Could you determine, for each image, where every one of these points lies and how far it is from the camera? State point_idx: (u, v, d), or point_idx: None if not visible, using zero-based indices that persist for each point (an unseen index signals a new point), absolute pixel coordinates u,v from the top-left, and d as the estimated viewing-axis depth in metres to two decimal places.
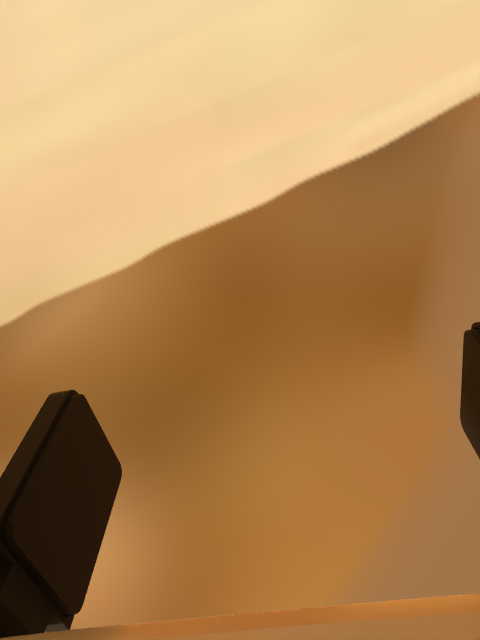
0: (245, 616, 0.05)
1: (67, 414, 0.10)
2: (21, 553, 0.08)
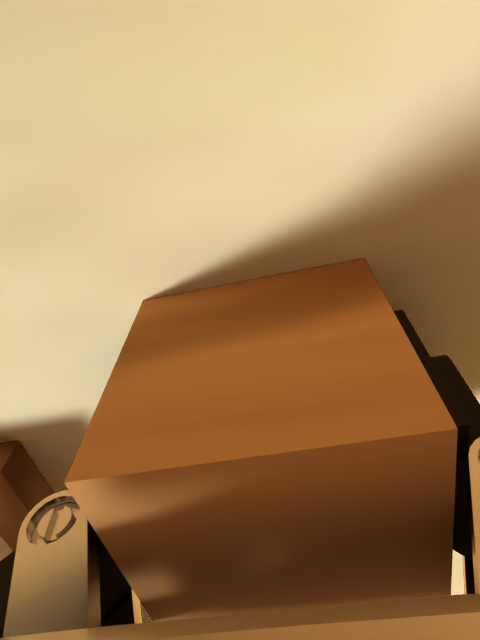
0: (245, 616, 0.05)
1: None
2: None
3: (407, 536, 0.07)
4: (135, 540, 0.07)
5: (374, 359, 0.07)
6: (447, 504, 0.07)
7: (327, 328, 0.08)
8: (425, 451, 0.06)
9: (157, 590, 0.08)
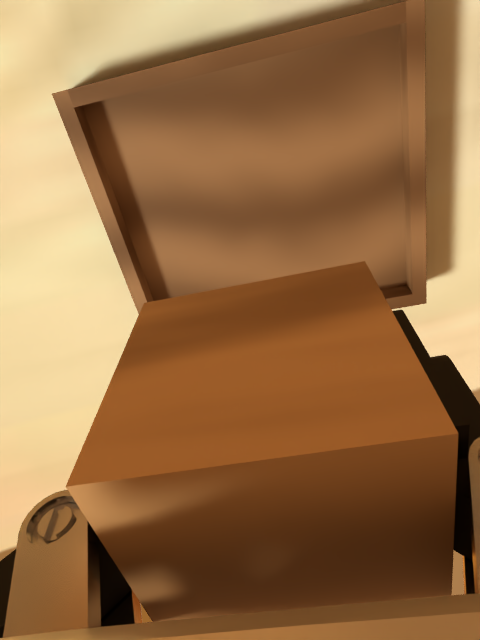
0: (245, 616, 0.05)
1: None
2: None
3: (407, 540, 0.07)
4: (136, 543, 0.07)
5: (375, 363, 0.07)
6: (448, 508, 0.07)
7: (328, 331, 0.08)
8: (426, 455, 0.06)
9: (158, 593, 0.08)
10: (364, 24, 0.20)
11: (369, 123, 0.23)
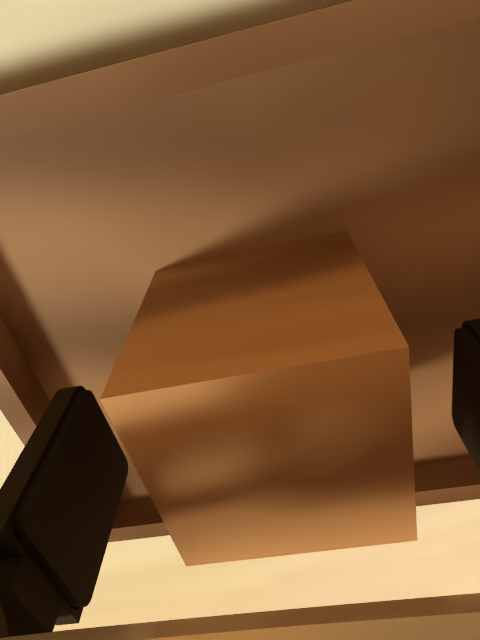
0: (245, 616, 0.05)
1: (75, 409, 0.10)
2: (32, 545, 0.08)
3: (375, 445, 0.09)
4: (155, 452, 0.09)
5: (349, 304, 0.09)
6: (406, 415, 0.08)
7: (313, 284, 0.10)
8: (385, 367, 0.08)
9: (172, 500, 0.10)
10: None
11: None
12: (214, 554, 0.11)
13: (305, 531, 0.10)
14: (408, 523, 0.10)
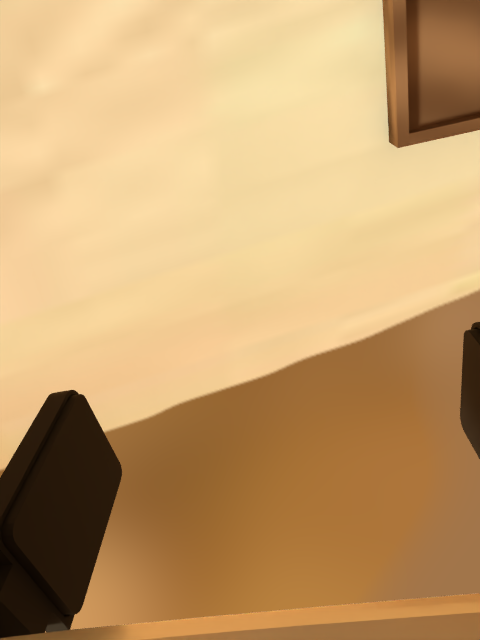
0: (245, 616, 0.05)
1: (67, 414, 0.10)
2: (21, 553, 0.08)
3: None
4: None
5: None
6: None
7: None
8: None
9: None
10: None
11: None
12: None
13: None
14: None
